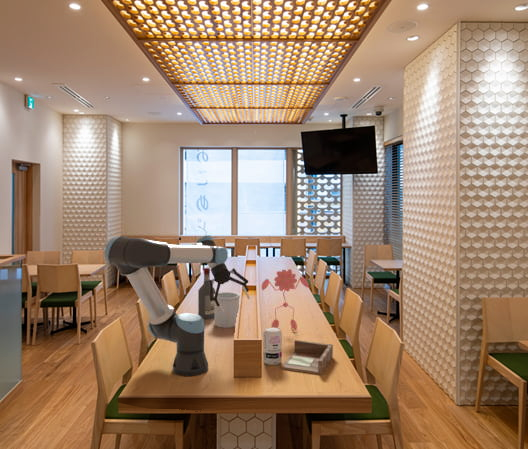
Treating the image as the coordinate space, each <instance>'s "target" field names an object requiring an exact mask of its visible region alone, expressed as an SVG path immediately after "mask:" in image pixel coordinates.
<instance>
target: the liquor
mask: <svg viewBox="0 0 528 449" xmlns="http://www.w3.org/2000/svg"><path fill="white" fill-rule="evenodd" d="M210 274H211V268H209V267H204V268H203V284H202V285H201V286H200V287H199V289H198V291H197V292H198V293H197V294H198V297H197V298H198V301H197V302H198V303H197V304H198V306H197V307H198V310H197V311H198V314H197V315H200V316H201V317H202V318H203V320H210V319H213V318H214V301H210V283H209V280H211V279H210V278H211V276H210ZM215 293H216V289H215V288H214V287H213V298H214V294H215Z"/></svg>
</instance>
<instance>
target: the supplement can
mask: <svg viewBox="0 0 528 449" xmlns="http://www.w3.org/2000/svg"><path fill="white" fill-rule="evenodd" d="M282 343H283V332H282V331H281V328H279V327H278V328H276V327H272V326H271V327H265V328H264V331H263V352H262V353H263V356H262V358H263V359H262V360H263V363H264V364H266V365H269V366H277V365H279V363H280V364H281V363H282V357H283V355H282V354H283V351H282V350H283V349H282V347H283V344H282Z"/></svg>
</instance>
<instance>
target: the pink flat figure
mask: <svg viewBox="0 0 528 449" xmlns="http://www.w3.org/2000/svg"><path fill="white" fill-rule="evenodd" d="M296 276H297V275H296V273H293V271H292V269H291V268H290V269H289V268H288V269H287V270H286V269H282V270H279V271H276V276H275V278H274V281H275V283H274V284H272V283H271V281H270V280H269V279H268V278H267V279H264V280H263V281H262V283H261V290H262V291H264V290H266V289H267V288H268V287H269V285H270V286H271V287H272V288H273V290H274V291H280V292H283V293H282V295H283V301H284V302H283V303H282V305H280V306H278V307H275V308H274V313H275V317H277V312H276V310H277V309H279V308H281V307H284V308H288V307H289V308H291V309H292V311H293V312H292V319H290V322H289V323H290V326H291V328H290V329H293V330H294V331H295V332H297V330H298V329H297V328H298V325H297V322H296V320H295V319H294V317H295V316H294V315H295V308H294V307H293V306H290V305H289V304H288V303H287V302H286V297H285V292H289V291H290V290H296V289H297V288H298V285H299V283H301V284H302V286H304V287H306V288H310V285H309V281H308V280H307V279H306V278H305V277H303V276H299V278H298V279H297V278H296ZM295 284H296V285H295ZM274 286H275V287H278V288H277V289H276V288H275V287H274ZM279 324H280V322H279V320H278V319H277V318H275V319H273V321H272V322H271V327H276V328H279Z"/></svg>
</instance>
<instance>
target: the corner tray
mask: <svg viewBox="0 0 528 449" xmlns="http://www.w3.org/2000/svg"><path fill="white" fill-rule="evenodd" d="M293 343H294V346H293V348H294V349H293V350H294V351H293V352H292V353H291V355H289V357H288V358H287V359H286V360H285V361H284V362H283V364H282V365H281V366H280V369H281V370H285V369H287V370H286V371H292V370H293V372H299V371H300V372H299V373H305V372H307V373H306V374H312V373H314V374H313V375H319V374H321V375H323V374H324V373H325V371H326V369H327V367H328V366H329V364H330V363H331V361H330V360H332V359H333V354H334V352H333V349H334V346H333V344H330V343H329V344H328V343H323V342H322V343H321V342H314V341H306V340H300V339H299V340H298V339H297V340H296V339H295V340H294V342H293ZM331 358H332V359H331ZM328 363H329V364H328ZM327 365H328V366H327ZM325 368H326V369H325ZM322 373H323V374H322ZM321 375H320V376H321Z"/></svg>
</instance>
